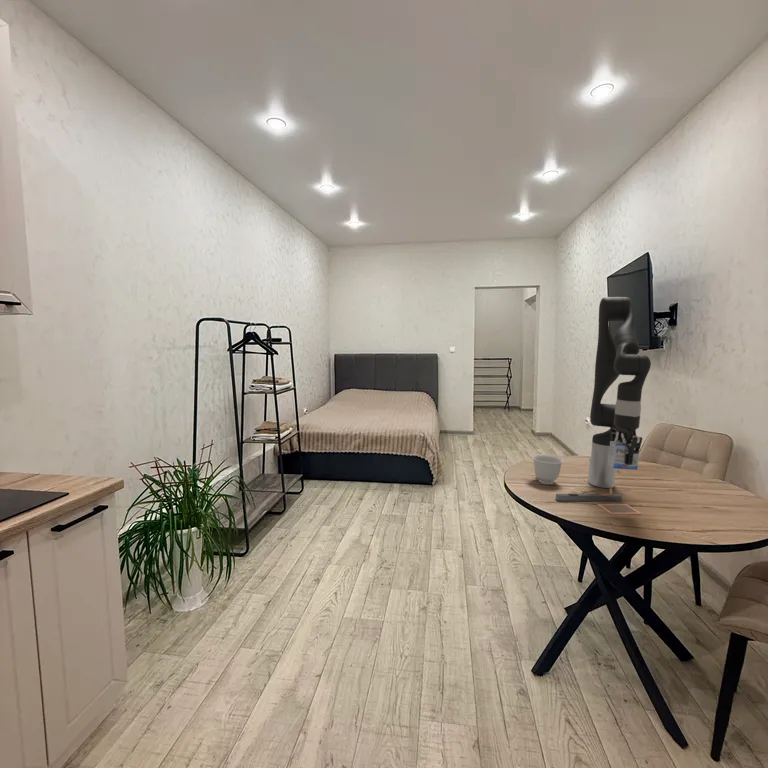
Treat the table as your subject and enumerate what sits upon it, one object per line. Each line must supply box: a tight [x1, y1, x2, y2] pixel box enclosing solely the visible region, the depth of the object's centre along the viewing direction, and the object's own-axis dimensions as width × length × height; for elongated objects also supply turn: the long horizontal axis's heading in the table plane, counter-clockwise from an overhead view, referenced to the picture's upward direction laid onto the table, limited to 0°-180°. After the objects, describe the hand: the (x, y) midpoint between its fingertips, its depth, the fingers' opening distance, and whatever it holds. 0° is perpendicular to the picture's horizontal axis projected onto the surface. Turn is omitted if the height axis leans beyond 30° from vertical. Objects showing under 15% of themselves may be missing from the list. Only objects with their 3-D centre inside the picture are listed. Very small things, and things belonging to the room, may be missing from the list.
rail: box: [555, 488, 623, 502], centre depth 151 cm, size 2×24×4 cm, turn 94°
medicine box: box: [608, 441, 640, 470], centre depth 142 cm, size 8×4×9 cm, turn 82°
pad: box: [596, 503, 643, 515], centre depth 144 cm, size 8×11×1 cm
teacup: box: [531, 453, 564, 485], centre depth 171 cm, size 12×15×10 cm
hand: (622, 461), depth 142 cm, fingers closed on medicine box, 5 cm apart
